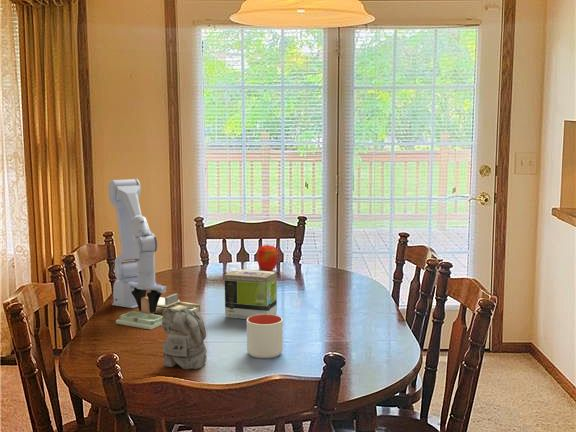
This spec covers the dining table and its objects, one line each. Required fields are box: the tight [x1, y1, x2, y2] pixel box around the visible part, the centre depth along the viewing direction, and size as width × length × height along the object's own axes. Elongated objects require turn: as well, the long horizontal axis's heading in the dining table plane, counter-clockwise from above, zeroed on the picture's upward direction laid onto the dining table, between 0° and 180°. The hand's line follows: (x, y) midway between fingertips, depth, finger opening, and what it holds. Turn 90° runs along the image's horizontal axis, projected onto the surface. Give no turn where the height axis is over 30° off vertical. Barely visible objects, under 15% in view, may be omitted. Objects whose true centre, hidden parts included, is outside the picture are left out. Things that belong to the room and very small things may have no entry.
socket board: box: [115, 310, 163, 331], centre depth 221 cm, size 14×9×2 cm, turn 63°
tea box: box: [224, 268, 278, 320], centre depth 228 cm, size 15×10×15 cm
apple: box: [256, 244, 279, 271], centre depth 294 cm, size 9×9×12 cm
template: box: [154, 301, 201, 315], centre depth 236 cm, size 17×10×2 cm, turn 63°
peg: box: [140, 296, 155, 314], centre depth 229 cm, size 4×4×6 cm
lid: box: [157, 293, 181, 308], centre depth 237 cm, size 10×8×3 cm
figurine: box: [161, 308, 208, 370], centre depth 184 cm, size 10×11×15 cm
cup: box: [246, 314, 284, 359], centre depth 192 cm, size 10×10×10 cm
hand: (147, 311), depth 229 cm, fingers closed on peg, 4 cm apart
